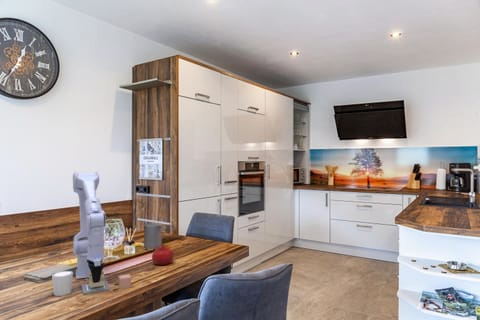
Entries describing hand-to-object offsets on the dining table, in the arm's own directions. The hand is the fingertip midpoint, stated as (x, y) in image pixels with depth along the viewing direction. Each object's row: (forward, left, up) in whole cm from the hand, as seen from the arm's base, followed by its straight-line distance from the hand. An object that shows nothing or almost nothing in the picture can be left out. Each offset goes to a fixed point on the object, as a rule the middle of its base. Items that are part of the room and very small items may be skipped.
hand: (95, 280), depth 123 cm
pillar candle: (-49, +34, -3) cm, 60 cm away
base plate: (0, 0, -3) cm, 3 cm away
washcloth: (-26, -15, -4) cm, 30 cm away
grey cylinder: (-1, -11, -3) cm, 12 cm away
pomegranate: (-18, +31, -3) cm, 36 cm away
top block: (+4, +10, -3) cm, 11 cm away
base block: (0, 0, -2) cm, 2 cm away
